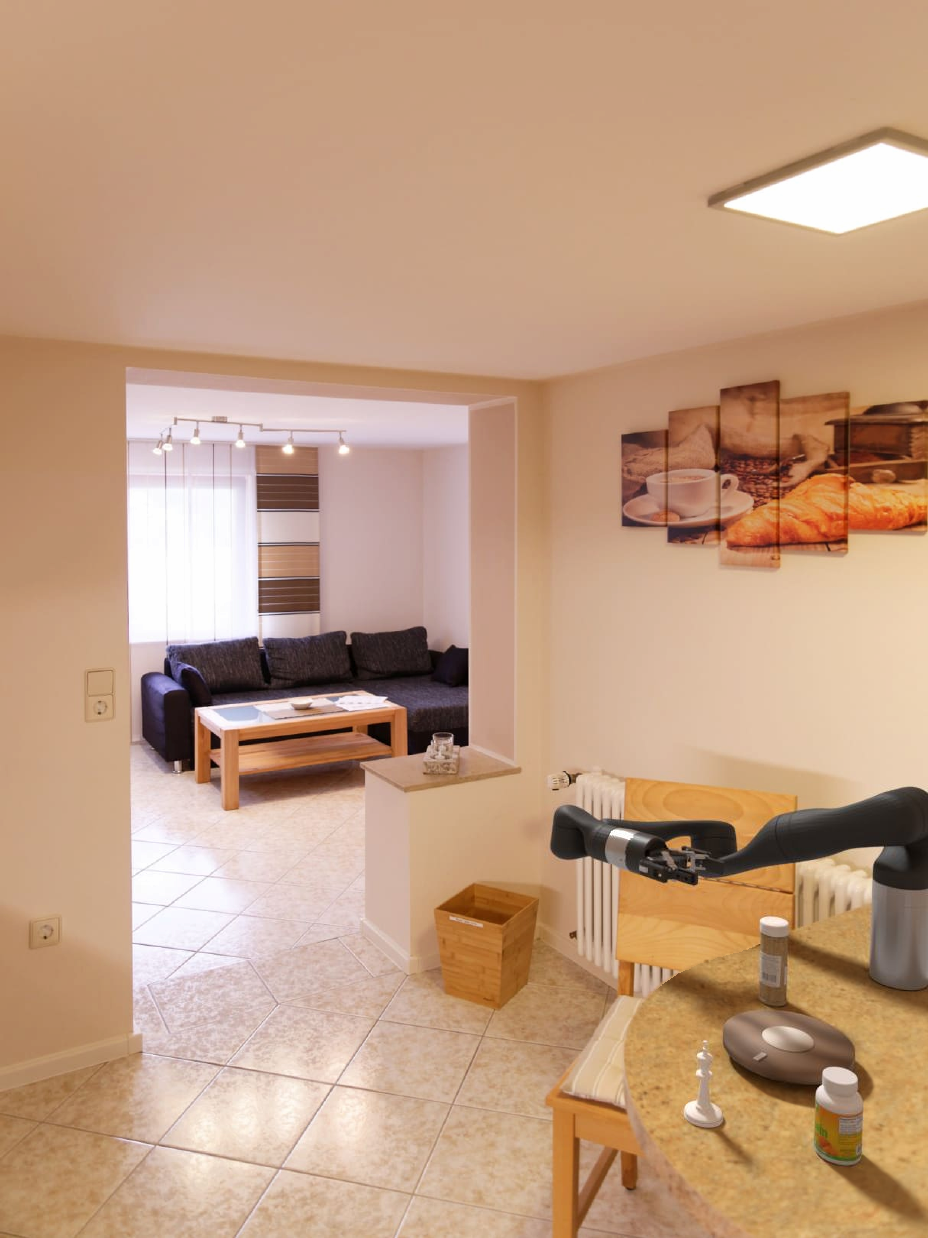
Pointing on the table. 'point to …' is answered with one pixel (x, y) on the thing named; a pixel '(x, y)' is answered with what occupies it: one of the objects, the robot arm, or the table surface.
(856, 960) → the table surface
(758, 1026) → the turntable platter
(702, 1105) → the chess piece
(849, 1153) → the supplement bottle
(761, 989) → the sprinkles bottle
